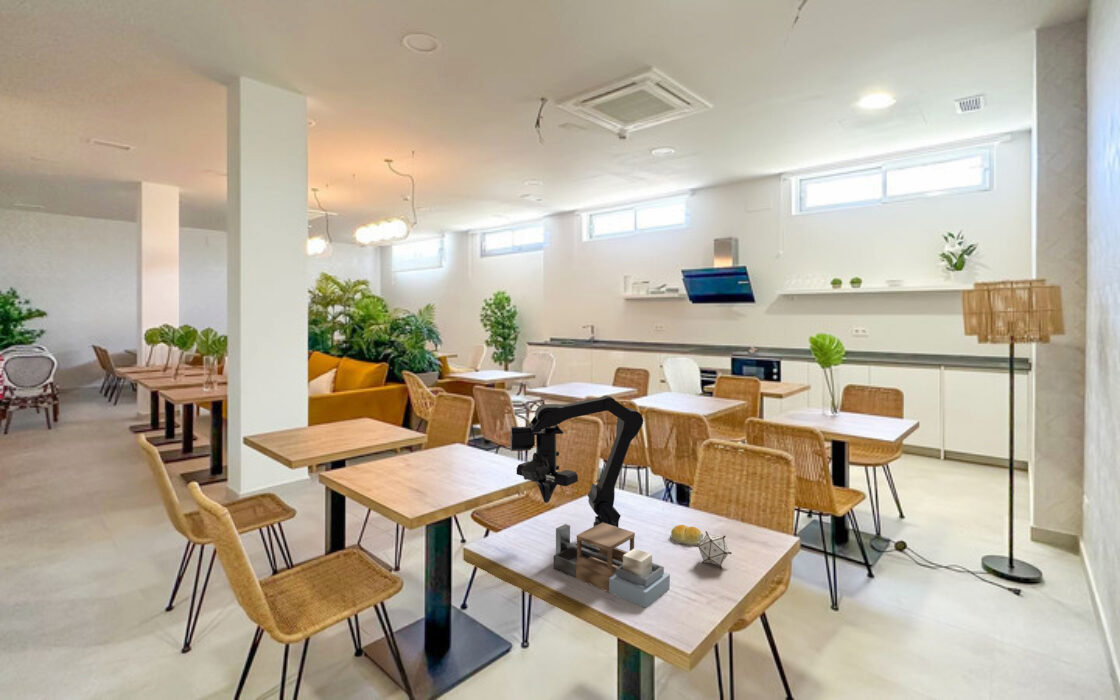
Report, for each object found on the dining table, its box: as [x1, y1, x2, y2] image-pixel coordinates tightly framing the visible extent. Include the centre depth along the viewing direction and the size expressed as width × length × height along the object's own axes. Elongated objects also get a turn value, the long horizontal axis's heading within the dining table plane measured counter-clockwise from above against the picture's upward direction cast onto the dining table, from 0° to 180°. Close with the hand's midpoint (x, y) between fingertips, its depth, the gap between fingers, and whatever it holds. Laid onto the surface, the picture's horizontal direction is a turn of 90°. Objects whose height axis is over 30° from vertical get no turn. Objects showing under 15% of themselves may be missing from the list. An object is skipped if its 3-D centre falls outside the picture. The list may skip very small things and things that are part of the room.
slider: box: [555, 523, 665, 587], centre depth 130 cm, size 29×8×8 cm, turn 50°
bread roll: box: [670, 524, 704, 546], centre depth 153 cm, size 8×9×4 cm
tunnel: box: [553, 522, 636, 593], centre depth 132 cm, size 18×11×11 cm, turn 50°
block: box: [623, 547, 653, 578], centre depth 124 cm, size 5×5×5 cm
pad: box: [608, 571, 671, 608], centre depth 123 cm, size 10×11×4 cm
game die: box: [694, 530, 733, 569], centre depth 137 cm, size 9×8×10 cm
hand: (546, 502), depth 149 cm, fingers closed
